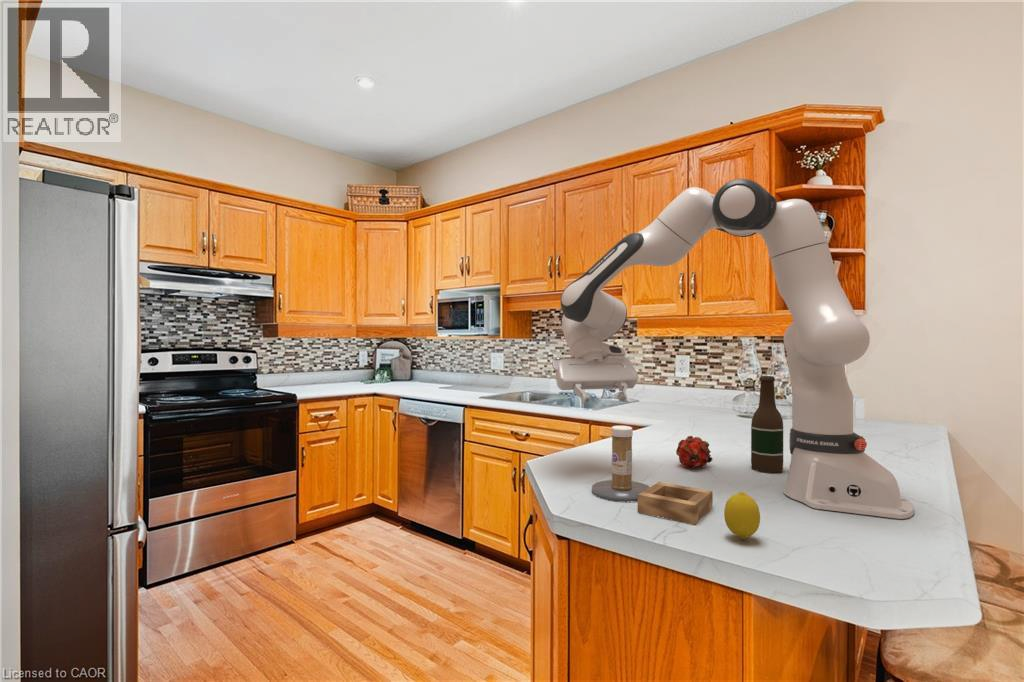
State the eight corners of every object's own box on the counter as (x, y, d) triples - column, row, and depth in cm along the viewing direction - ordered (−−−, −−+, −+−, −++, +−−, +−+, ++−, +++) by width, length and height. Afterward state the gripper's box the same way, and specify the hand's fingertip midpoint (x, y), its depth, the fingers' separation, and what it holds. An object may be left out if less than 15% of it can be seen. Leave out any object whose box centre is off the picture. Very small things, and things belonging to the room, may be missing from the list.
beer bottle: (746, 465, 137) (746, 374, 137) (777, 466, 136) (777, 375, 135) (756, 473, 129) (756, 377, 129) (789, 474, 128) (789, 377, 128)
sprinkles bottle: (607, 488, 113) (607, 426, 113) (619, 483, 117) (619, 424, 117) (625, 492, 110) (624, 429, 110) (636, 488, 113) (636, 426, 113)
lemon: (764, 547, 84) (764, 498, 84) (728, 544, 85) (727, 495, 85) (755, 534, 89) (755, 488, 89) (721, 532, 90) (721, 486, 90)
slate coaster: (661, 490, 115) (661, 486, 115) (637, 506, 104) (637, 501, 104) (608, 481, 122) (608, 476, 122) (581, 494, 112) (581, 489, 112)
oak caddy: (712, 508, 103) (712, 491, 103) (694, 524, 94) (694, 505, 94) (658, 498, 109) (658, 481, 109) (637, 512, 101) (637, 494, 101)
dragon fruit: (696, 466, 142) (696, 485, 131) (670, 447, 143) (668, 464, 132) (716, 444, 139) (718, 460, 128) (689, 424, 141) (689, 439, 130)
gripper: (553, 349, 127) (566, 393, 117) (630, 348, 131) (648, 390, 122) (547, 366, 131) (559, 410, 121) (622, 365, 136) (639, 407, 126)
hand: (605, 400), depth 122 cm, fingers open, 8 cm apart
